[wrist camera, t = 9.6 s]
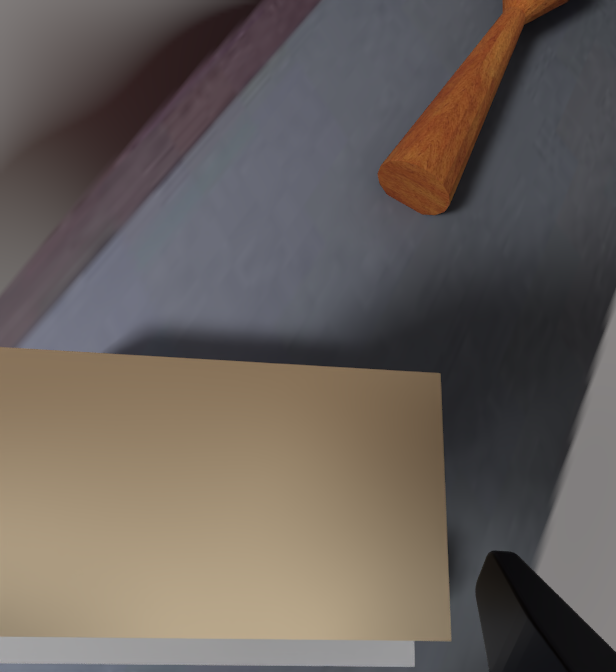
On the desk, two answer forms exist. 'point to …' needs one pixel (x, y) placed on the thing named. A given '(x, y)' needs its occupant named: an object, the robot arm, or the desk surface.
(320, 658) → the ledge
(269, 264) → the desk surface
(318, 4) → the desk surface
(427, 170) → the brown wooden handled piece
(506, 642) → the robot arm
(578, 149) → the desk surface
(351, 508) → the beige block with panel
